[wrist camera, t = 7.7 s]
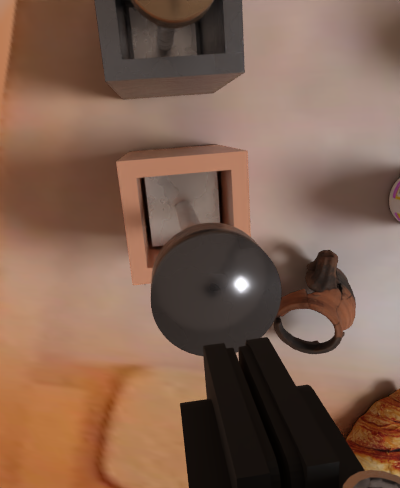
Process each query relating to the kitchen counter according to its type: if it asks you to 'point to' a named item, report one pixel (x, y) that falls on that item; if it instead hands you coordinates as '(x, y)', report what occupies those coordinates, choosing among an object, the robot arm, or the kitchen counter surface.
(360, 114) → the kitchen counter surface
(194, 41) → the plunger bronze
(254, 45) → the kitchen counter surface
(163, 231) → the grey plunger
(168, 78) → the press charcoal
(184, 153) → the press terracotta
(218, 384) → the robot arm
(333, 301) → the brown curved piece
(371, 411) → the croissant
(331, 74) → the kitchen counter surface
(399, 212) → the supplement bottle
